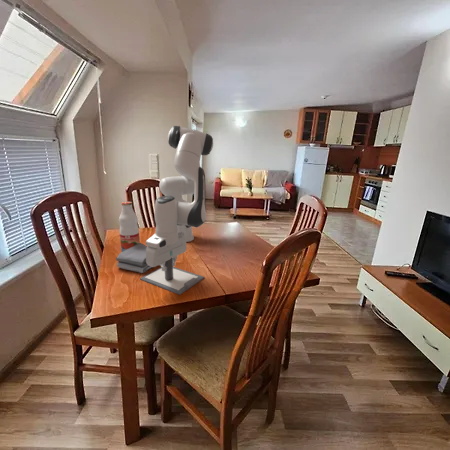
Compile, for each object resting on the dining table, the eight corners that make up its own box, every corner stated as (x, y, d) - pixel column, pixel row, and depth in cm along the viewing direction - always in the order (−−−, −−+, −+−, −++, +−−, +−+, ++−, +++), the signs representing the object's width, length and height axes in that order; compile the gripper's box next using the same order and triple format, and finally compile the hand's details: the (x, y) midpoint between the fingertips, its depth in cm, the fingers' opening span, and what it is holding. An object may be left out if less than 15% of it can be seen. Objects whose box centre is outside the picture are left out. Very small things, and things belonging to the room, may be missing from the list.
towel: (115, 269, 114) (114, 254, 112) (140, 255, 131) (139, 241, 129) (144, 275, 110) (142, 258, 108) (165, 259, 127) (164, 244, 125)
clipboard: (140, 279, 106) (139, 275, 105) (166, 265, 119) (166, 262, 118) (179, 294, 95) (179, 290, 94) (204, 278, 108) (204, 274, 108)
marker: (162, 278, 104) (161, 250, 100) (169, 275, 107) (167, 247, 104) (169, 281, 102) (168, 252, 99) (175, 277, 105) (174, 249, 102)
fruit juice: (142, 251, 136) (139, 200, 128) (137, 258, 127) (133, 204, 119) (125, 250, 136) (120, 200, 128) (119, 257, 126) (113, 204, 119)
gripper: (178, 229, 110) (179, 258, 114) (142, 242, 93) (144, 276, 97) (189, 231, 107) (190, 261, 111) (154, 246, 90) (156, 280, 94)
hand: (168, 268), depth 103 cm, fingers closed on marker, 3 cm apart
